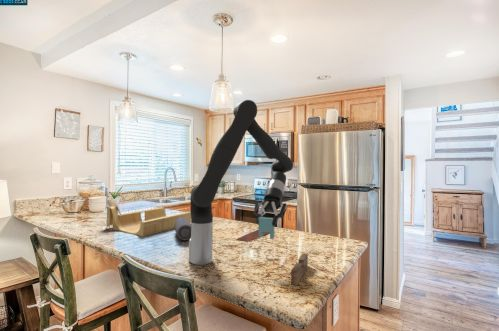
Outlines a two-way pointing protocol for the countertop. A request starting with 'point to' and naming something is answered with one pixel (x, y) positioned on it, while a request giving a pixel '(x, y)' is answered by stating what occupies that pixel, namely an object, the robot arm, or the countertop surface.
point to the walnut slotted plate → (299, 269)
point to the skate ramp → (150, 225)
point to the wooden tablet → (251, 236)
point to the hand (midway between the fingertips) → (265, 224)
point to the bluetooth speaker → (183, 228)
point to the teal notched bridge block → (266, 226)
